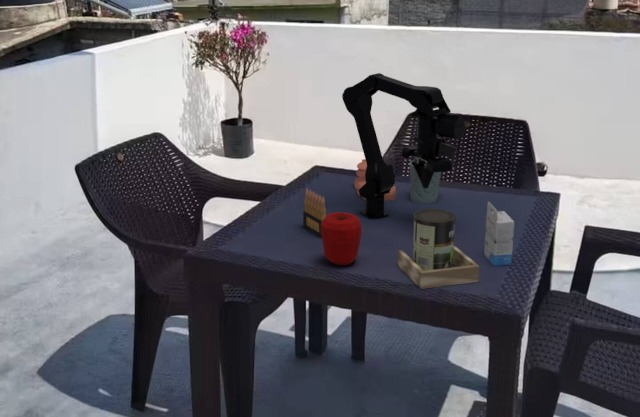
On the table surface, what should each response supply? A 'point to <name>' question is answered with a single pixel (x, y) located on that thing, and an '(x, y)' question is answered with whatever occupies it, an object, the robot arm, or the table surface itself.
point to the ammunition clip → (313, 212)
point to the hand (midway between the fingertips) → (425, 188)
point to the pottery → (361, 181)
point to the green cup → (420, 193)
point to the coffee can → (433, 239)
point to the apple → (341, 237)
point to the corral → (441, 271)
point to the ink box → (498, 237)
